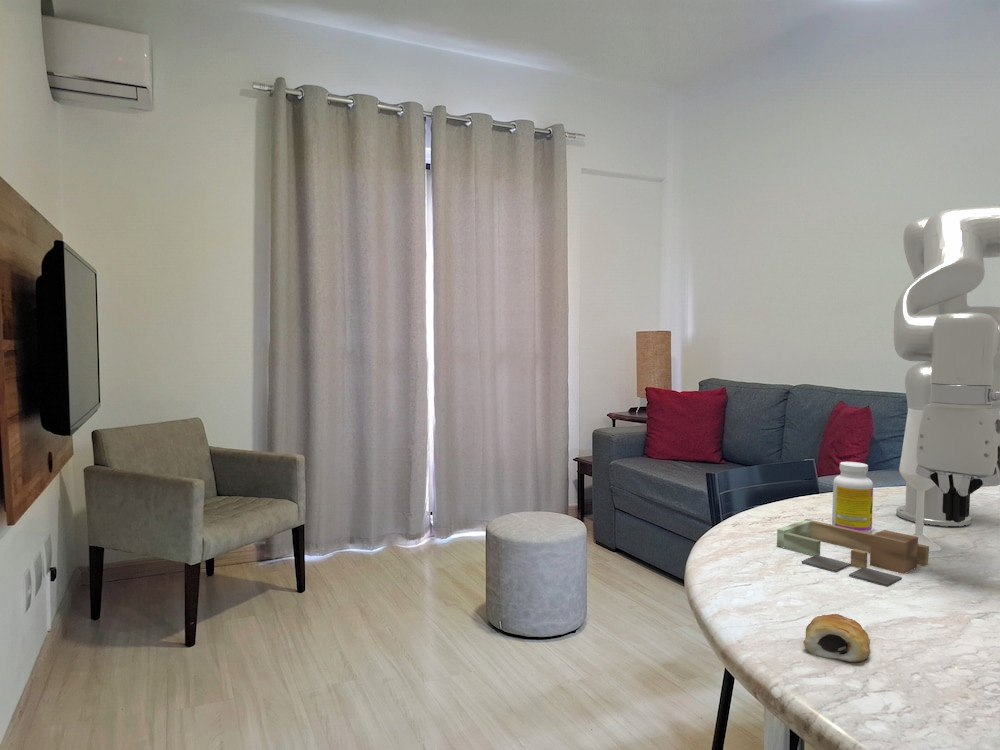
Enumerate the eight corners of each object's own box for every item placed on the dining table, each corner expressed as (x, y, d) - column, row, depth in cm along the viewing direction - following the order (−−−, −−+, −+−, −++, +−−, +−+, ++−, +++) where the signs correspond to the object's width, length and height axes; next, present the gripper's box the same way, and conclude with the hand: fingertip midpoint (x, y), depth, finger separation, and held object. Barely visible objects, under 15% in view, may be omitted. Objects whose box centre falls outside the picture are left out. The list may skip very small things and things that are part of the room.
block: (883, 559, 111) (884, 529, 110) (916, 567, 107) (918, 536, 106) (869, 565, 108) (871, 535, 107) (903, 574, 104) (905, 542, 103)
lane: (806, 535, 123) (807, 519, 123) (928, 564, 108) (929, 546, 108) (761, 551, 114) (761, 534, 114) (887, 586, 98) (888, 566, 98)
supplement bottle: (876, 538, 122) (879, 468, 121) (837, 535, 123) (839, 466, 123) (864, 527, 129) (867, 461, 128) (827, 525, 130) (829, 460, 129)
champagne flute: (917, 537, 122) (922, 406, 121) (950, 549, 116) (957, 410, 114) (887, 540, 120) (892, 407, 119) (920, 552, 114) (925, 412, 112)
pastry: (812, 625, 86) (814, 596, 85) (873, 638, 82) (874, 608, 82) (801, 654, 78) (803, 622, 77) (868, 671, 74) (869, 637, 74)
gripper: (1030, 399, 95) (1025, 527, 96) (914, 393, 107) (910, 507, 108) (1014, 401, 91) (1008, 535, 91) (895, 394, 102) (890, 513, 103)
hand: (955, 520), depth 100 cm, fingers closed
